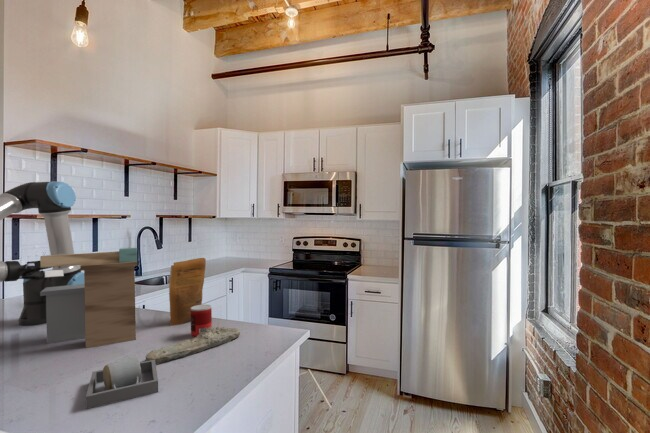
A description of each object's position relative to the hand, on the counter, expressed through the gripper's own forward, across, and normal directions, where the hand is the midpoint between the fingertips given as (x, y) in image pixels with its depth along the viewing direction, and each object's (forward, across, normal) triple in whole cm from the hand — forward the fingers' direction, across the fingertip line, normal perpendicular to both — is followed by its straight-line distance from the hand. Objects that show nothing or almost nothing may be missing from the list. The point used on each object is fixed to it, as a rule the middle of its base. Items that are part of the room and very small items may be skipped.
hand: (70, 268), depth 145 cm
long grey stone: (+15, +49, -48) cm, 70 cm away
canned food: (+26, +40, -43) cm, 64 cm away
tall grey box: (0, -1, -28) cm, 28 cm away
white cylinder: (-14, +54, -52) cm, 77 cm away
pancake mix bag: (+35, +21, -35) cm, 53 cm away
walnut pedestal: (+5, +15, -34) cm, 38 cm away
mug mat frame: (-13, +54, -52) cm, 76 cm away
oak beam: (-3, +24, -6) cm, 24 cm away
